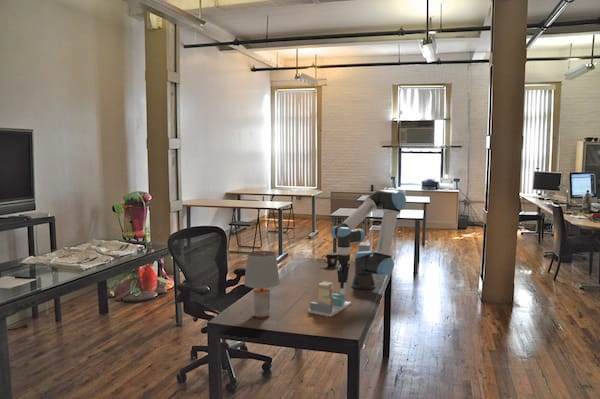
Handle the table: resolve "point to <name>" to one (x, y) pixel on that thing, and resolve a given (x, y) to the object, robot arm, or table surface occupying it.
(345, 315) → the table surface
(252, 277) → the lamp
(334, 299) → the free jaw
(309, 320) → the table surface
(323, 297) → the birch block
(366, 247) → the hard drive box
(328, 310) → the bed
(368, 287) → the robot arm
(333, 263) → the coffee mug
